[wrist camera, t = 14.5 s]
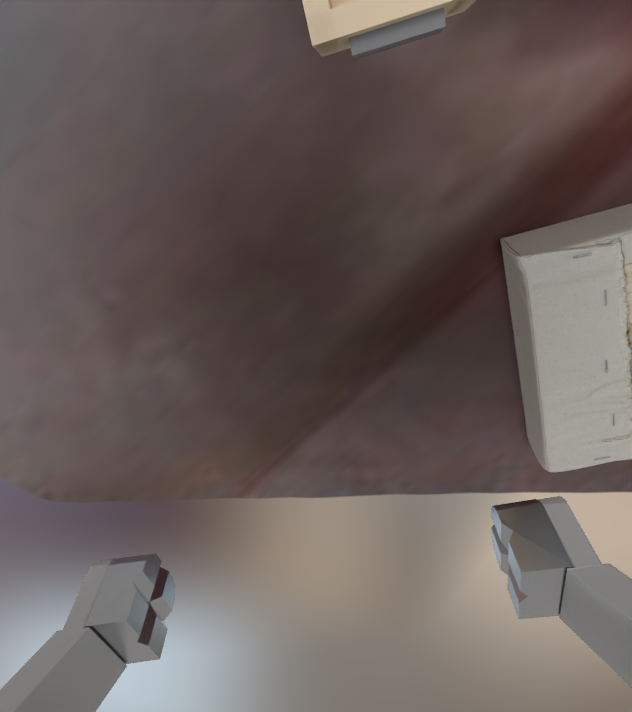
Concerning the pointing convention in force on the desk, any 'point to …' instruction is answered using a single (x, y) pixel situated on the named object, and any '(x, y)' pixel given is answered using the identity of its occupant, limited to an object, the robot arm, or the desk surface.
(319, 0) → the tray
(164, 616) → the robot arm
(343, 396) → the desk surface
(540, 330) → the box
